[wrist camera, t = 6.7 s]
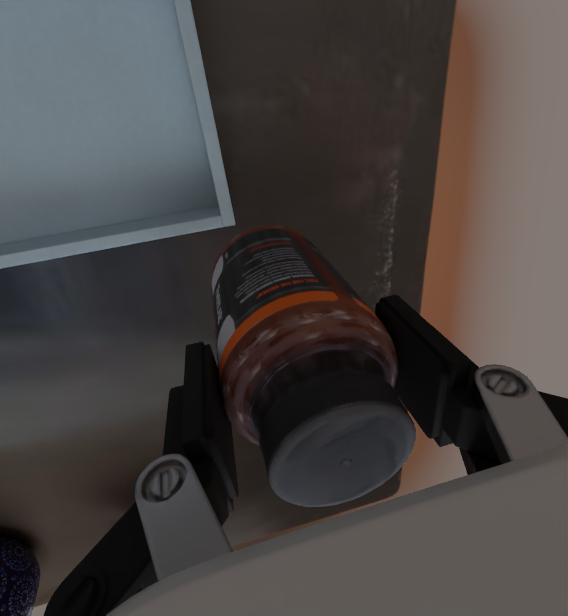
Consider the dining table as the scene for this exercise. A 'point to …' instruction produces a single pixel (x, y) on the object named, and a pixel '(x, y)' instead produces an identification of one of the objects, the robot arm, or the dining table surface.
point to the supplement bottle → (306, 370)
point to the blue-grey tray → (104, 128)
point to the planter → (17, 578)
